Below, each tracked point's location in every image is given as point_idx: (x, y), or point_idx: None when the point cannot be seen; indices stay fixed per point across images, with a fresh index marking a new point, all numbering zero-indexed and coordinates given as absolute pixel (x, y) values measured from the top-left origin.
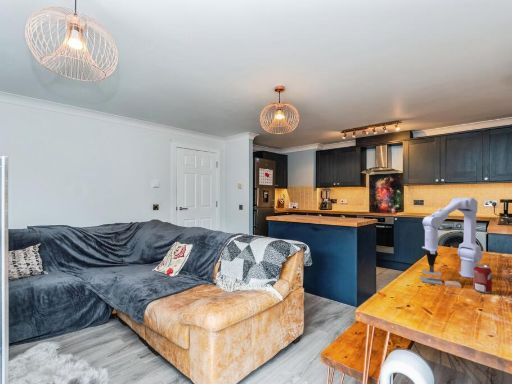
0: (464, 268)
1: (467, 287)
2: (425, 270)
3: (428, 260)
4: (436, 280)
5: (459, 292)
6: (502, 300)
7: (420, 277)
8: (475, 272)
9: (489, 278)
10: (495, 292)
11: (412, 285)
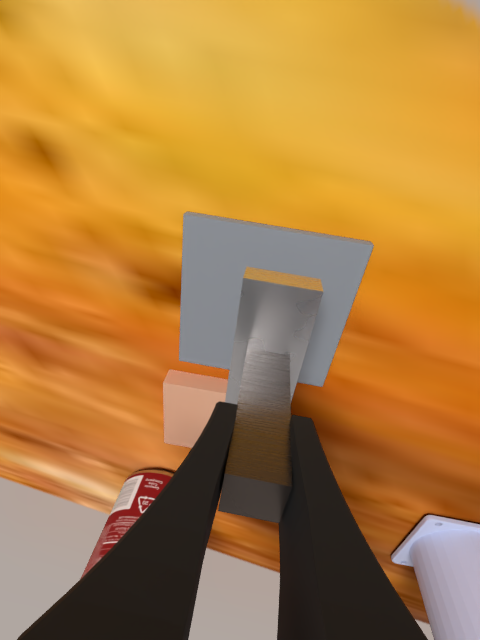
0: (464, 589)
1: None
2: (308, 321)
3: (182, 466)
4: None
5: (76, 393)
6: (72, 494)
7: (363, 240)
8: None
9: None
10: None
11: (22, 74)
